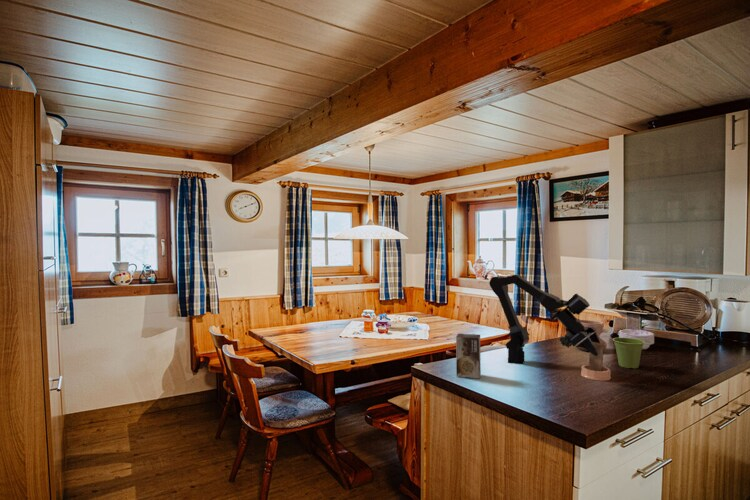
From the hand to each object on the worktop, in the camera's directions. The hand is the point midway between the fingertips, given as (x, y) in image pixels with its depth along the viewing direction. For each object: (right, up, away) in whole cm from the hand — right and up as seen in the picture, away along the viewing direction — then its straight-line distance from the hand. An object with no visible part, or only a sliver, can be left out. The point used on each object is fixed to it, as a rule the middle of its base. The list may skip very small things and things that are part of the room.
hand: (599, 353), depth 163 cm
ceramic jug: (+18, -9, +44) cm, 49 cm away
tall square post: (-1, -8, +1) cm, 9 cm away
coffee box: (-51, -10, +2) cm, 52 cm away
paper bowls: (+45, -9, +49) cm, 67 cm away
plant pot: (+20, -10, +15) cm, 27 cm away
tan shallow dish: (-1, -10, +1) cm, 10 cm away
